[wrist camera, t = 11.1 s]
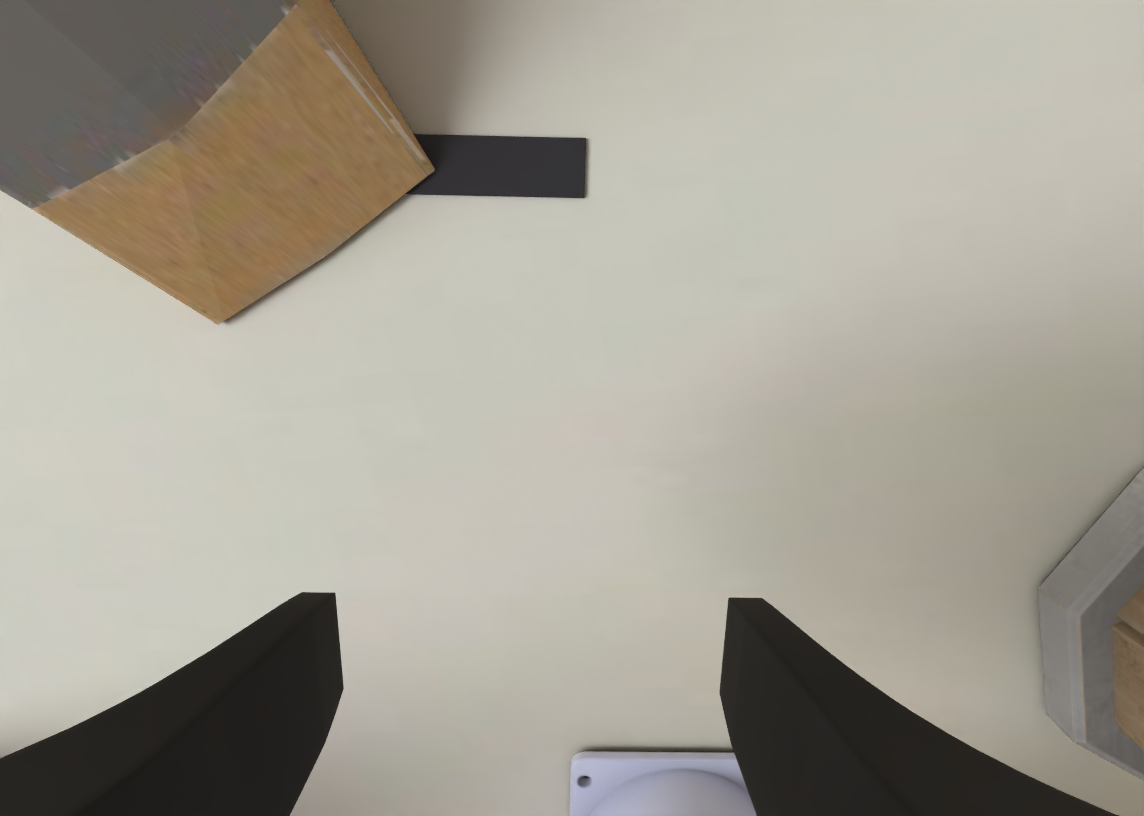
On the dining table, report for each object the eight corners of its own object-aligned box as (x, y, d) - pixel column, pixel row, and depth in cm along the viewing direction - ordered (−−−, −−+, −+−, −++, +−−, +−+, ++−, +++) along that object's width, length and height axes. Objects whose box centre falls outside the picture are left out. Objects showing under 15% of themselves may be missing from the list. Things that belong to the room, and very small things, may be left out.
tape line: (584, 197, 19) (584, 197, 19) (-259, 180, 18) (-264, 179, 18) (585, 138, 18) (585, 138, 18) (-278, 118, 18) (-282, 118, 18)
